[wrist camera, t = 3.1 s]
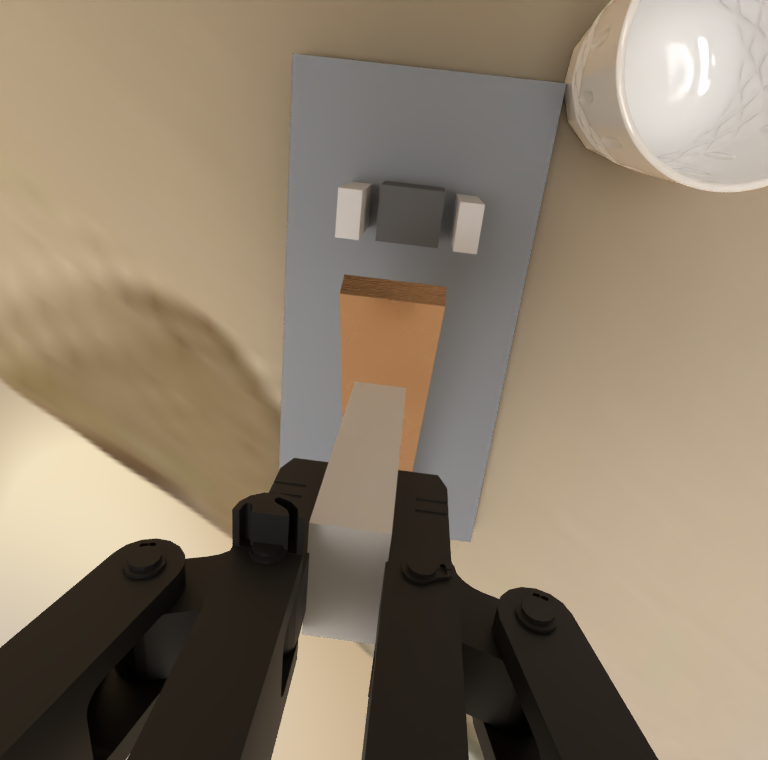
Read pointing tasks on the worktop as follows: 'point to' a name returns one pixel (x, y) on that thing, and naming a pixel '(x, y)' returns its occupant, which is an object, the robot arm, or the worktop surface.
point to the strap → (391, 344)
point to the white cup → (676, 90)
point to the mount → (412, 241)
